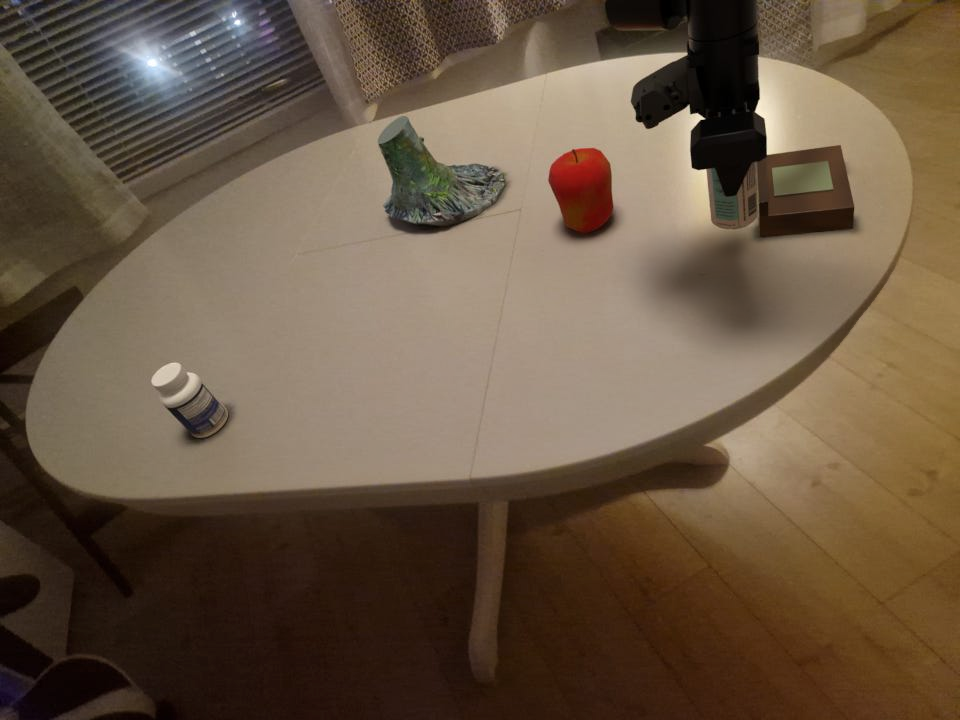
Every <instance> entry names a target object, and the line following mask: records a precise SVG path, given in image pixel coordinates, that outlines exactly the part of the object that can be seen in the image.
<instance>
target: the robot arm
mask: <svg viewBox="0 0 960 720" xmlns="http://www.w3.org/2000/svg"><path fill="white" fill-rule="evenodd" d="M604 12H605V15H606V19H607V20H608V23H609V25H611V26H612V28H613V29H615V30H617V31H673V30H674V29H676V28H677V27H679V25H680V24H681V23H682V21H683V20H684V18H685V17H686V22H687V32H688V33H687V34H688V40H687V41H686V55H684V56H682V57H680V58H678V59H677V60H674V61H670V62H669V63H668V64H666V65H664V66H662V67H660V68H659V69H657V70H655V71H653V72H652V73H650V74H648V75H647V76H644V77H643V78H641V79H640V80H639V81H637V82H636V83H635V84H634V85H633V87H632V91H631V97H630V104H631V105H632V108H633V109H634V112H635V117H634V119H635V121H636V122H637V123H639V124H641V123H642V124H643V126H644V128H645V129H646V130H652V129H653V128H655V127H657V126H659V124H660V123H662V122H664V121H665V120H668V119H670V118H671V117H673V116H674V115H676V114H678V113H680V112H682V111H683V110H685V109H686V108H688V107H689V115H695V114H698V115H699V116H700V117H702V118H704V119H700V120H699V121H698V122H697V123H696V125H695V126H693V128H692V129H691V130H690V139H689V140H690V142H689V152H690V164H691V169H693V170H696V171H702V170H706V169H711V168H715V170H716V173H717V176H718V178H719V181H720V184H721V187H722V189H723V192H724V195H725V196H726V197H730V196H735V195H737V193H738V191H739V189H740V187H741V185H742V183H743V180H744V178H745V176H746V174H747V172H748V170H749V168H750V166H751V164H752V162H759V161H762V160H763V159H765V158H766V157H767V155H768V142H767V141H768V137H767V127H766V120H765V118H764V117H762V115H760V114H759V113H757V112H756V110H757V107H758V104H759V102H760V101H761V88H760V79H759V77H760V75H759V55H760V39H759V32H758V24H759V23H758V0H605V1H604ZM734 109H735V114H732V110H734ZM747 109H748V110H749V111H750V112H747ZM718 112H721V117H718Z"/></svg>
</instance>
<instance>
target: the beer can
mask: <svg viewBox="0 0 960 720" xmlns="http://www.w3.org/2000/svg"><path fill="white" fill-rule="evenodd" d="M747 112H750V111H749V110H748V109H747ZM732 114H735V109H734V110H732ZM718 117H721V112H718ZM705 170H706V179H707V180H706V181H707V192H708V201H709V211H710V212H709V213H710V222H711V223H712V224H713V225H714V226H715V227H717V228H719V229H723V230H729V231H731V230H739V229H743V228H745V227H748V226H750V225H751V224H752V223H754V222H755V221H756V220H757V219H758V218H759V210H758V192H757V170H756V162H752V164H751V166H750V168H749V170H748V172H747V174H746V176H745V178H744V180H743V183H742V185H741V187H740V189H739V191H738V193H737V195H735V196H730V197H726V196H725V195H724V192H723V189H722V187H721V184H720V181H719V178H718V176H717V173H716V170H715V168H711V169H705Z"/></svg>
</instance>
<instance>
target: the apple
mask: <svg viewBox="0 0 960 720" xmlns="http://www.w3.org/2000/svg"><path fill="white" fill-rule="evenodd" d="M612 178H613V174H612V167H611V163H610V161H609V160H608V158H607V157H606V156H605V154H604V153H603V152H602V151H601V150H600V149H597V148H595V147H581V148H576V149H575V148H572V149H571V150H570V151H567V152H565V153H563V154H562V155H560V156H558V157H557V158H556V159H555V160H554V161H553V162H552V163H551V165H550V167H549V170H548V177H547V181H548V184H549V186H550V189H551V191H552V193H553V195H554V197H555V200H556V202H557V205H558V206H559V207H558V208H559V211H560V214H561V216H562V220H563V222H564V224H565V226H566V227H568V228H570V229H572V230H574V231H576V232H578V233H583V234H587V233H591V232H593V231H596V230H598V229H600V228H601V227H602V226H603V225H604V224H605V223H606V222H607V221H608V219H610V217H611V216H612V215H613V212H614V200H613V199H614V198H613V182H612V181H613V179H612Z"/></svg>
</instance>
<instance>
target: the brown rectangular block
mask: <svg viewBox="0 0 960 720" xmlns="http://www.w3.org/2000/svg"><path fill="white" fill-rule="evenodd" d="M756 170H757V196H758V235H759V238H761V237H762V238H763V237H773V236H774V237H775V236H784V235H795V234H806V233H816V232H827V231H829V232H830V231H839V230H850V229H853V226H854V218H855V217H854V216H855V203H854V197H853V193H852V189H851V185H850V180H849V176H848V171H847V167H846V162H845V159H844V153H843V149H842V145H841V144H836V145H829V146H822V147H816V148H815V147H814V148H808V149H807V148H806V149H799V150H793V151H786V152H778V153H771V154H767V157H766V158H765V159H763V160H762V161H759V162H756Z"/></svg>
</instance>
